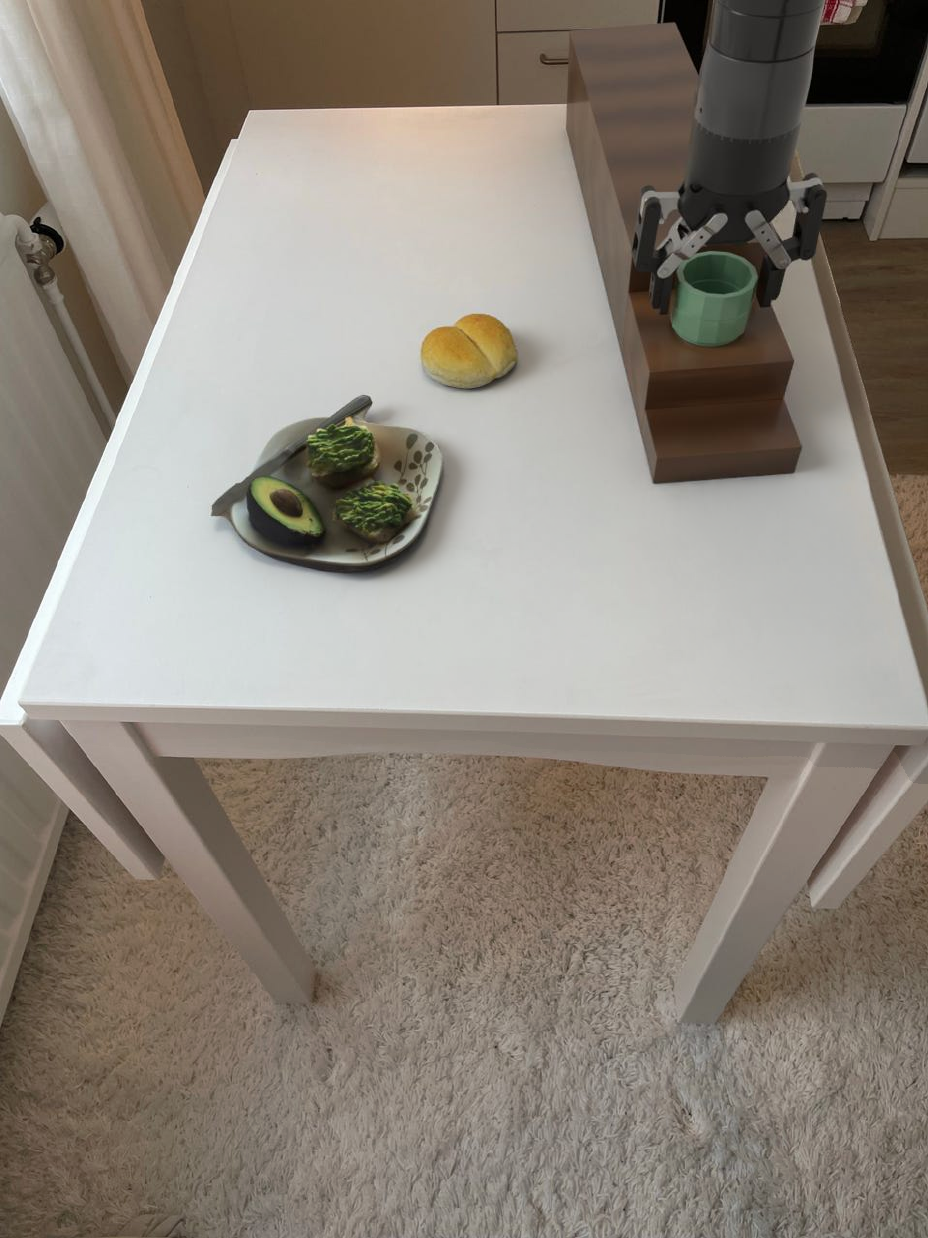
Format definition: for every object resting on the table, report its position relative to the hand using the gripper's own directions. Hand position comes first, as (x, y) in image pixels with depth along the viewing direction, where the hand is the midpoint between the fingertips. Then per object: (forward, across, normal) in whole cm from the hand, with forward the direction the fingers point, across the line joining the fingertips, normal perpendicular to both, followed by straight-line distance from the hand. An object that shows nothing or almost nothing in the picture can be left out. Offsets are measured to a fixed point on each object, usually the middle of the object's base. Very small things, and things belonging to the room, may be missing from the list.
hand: (711, 305), depth 80 cm
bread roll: (+9, -20, +6) cm, 23 cm away
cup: (+2, 0, 0) cm, 2 cm away
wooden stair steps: (+9, 0, +19) cm, 21 cm away
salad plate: (+9, -33, -11) cm, 36 cm away
